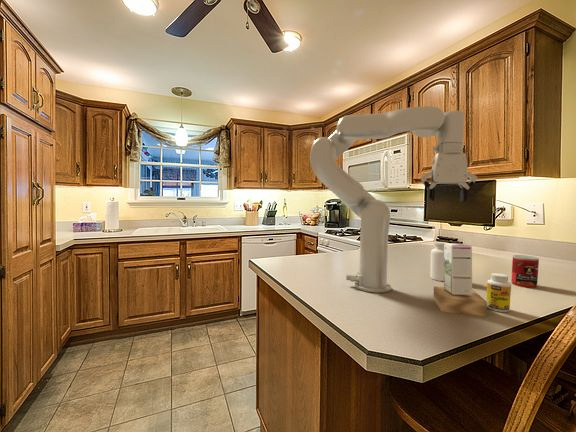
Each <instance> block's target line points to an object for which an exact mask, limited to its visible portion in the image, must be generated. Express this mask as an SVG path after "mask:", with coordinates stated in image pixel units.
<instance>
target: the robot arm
mask: <svg viewBox="0 0 576 432" xmlns="http://www.w3.org/2000/svg"><path fill="white" fill-rule="evenodd" d="M465 116H466V115H465V112H463V111H461V110H449V111H446V112H444V111H443V110H442V109H441V108H439V107H438V106H433V105H432V106H431V105H430V106H429V105H427V106H424V105H423V106H411V107H404V108H400V109H397V110H396V109H395V110H392V111H387V112H381V113H366V114H365V113H362V114H361V113H360V114H348V115H345V116H342V117H341V118H339V120H338V122H337V124H336V130H335V131H334V132H333V133H332V134H331V135H330V136H329V137H327V136H321V137H318V138H317V139H316V140H314V141H313V143H312V145H311V147H310V151H309V152H310V153H309V163H310V167H311V169H312V172H313V173H314V175H315V176H316V178H317V180H319V181H320V183H322V184H323V185H324V186H325V187H326V188H327V189H328V190H329V191H330V192H332V194H333V195H335V196H336V197H337V198H338V199H339V201H340V202H341V203H342V204H343V205H344V206H345V207H347V208H348V209H349V210H350V211H351V212H353V213H354V215H356V216H357V217H358V218H359V219H360V235H359V236H360V237H359V239H360V240H359V271H358V272H357V274H354V275H352V274H346V275H345V278H346V281H350V282H354V287H355V288H356V289H358V290H360V291H362V292H363V291H364V292H367V293H377V294H378V293H388V292H390V291H391V290H392V286H391V284H390V283H388V257H389V256H388V255H389V231H390V223H391V212H390V208H389V206H388V205H387V204H386V203H385V202H384V201H383V200H380V199H377V198H375V197H374V196H373V195H372V194H371V193H370V192H368V191H367V190H366V189H365V188H364V185H362V183H360V182H359V181H358V180H356V179H355V178H354V177H352V176H351V175H350V174H349V173H348V172H347V171H345V170H344V169H343V168H342V167H341V166H340V165H339V164H338V163H337V162H336V160H338V159H339V158H340V157H341V156H342V155H343V154H344V153H345V152H347V150H349V148H351V146H353V144H354V143H355V142H356V141H357V140H359V141H360V140H380V139H386V138H389V137H392V136H394V135H397V134H400V133H405V132H406V133H407V132H412V133H413V134H414V135H415V136H416V137H418V138H429V137H430V138H431V137H437V145H436V146H433V147H432V151H433V152H435V154H434V156H433V161H432V165H431V166H432V167H431V171H429V172H427V173H424V174H423V175H421V176H420V180H421V182H422V184H423V185H424V186H425V188H426V189H427V190H428V191H427V198H428V200H429V202H434V201H435V195H436V194H435V193H436V191H435V189H434V188H435V187H436V185H458V186H459V187H460V188H461V189H460V190H459V202H467V199H468V190H469V189H470V188H472V186H473V185H474V184H475V182H476V181H477V180H478V176H477V175H475V174H473V173H471V172H469V171H468V159H467V154H466V153H465V152H463V151H464V137H465V136H464V133H465V120H466V119H465V118H466V117H465ZM429 177H430V182H429V181H428V180H427V178H429ZM468 178H469V181H468Z"/></svg>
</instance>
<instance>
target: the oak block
mask: <svg viewBox="0 0 576 432" xmlns="http://www.w3.org/2000/svg"><path fill="white" fill-rule="evenodd" d="M432 297H433V300H434V302H435V304H436V306H437V307H438V308H439V310H440V311H441V312H444V313H445V312H446V313H452V314H453V313H454V314H461V315H469V316H470V315H471V316H479V317H487V302H486V299H485V298H483V297H482V296H481V295H480V294H479V293H477V292H476V291H475V290H473V289H472V296H471V295H454V294H451V293H449V292H447V291H446V290H444V286H433V295H432Z"/></svg>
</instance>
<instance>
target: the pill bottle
mask: <svg viewBox="0 0 576 432" xmlns="http://www.w3.org/2000/svg"><path fill="white" fill-rule="evenodd" d="M448 243H449V242H445V241H436V242H434V248H433V249H431V251H430V267H429V268H430V279H432V280H433V281H438V282H444V244H448Z"/></svg>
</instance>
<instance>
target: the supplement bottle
mask: <svg viewBox="0 0 576 432" xmlns="http://www.w3.org/2000/svg"><path fill="white" fill-rule="evenodd" d="M486 283H487V284H486V296H485V297H486V298H485V301H486V302H487V308H488V309H489V310H490V311H491V310H492V311H494V312H498V313H499V312H500V313H508V312H509V311H510V310H511V309H510V306H511V294H512V283H510V282H509V275H507V274H504V273H497V272H496V273H495V272H492V273H491V274H490V279H488V280H487V282H486ZM487 308H486V309H487Z"/></svg>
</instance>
